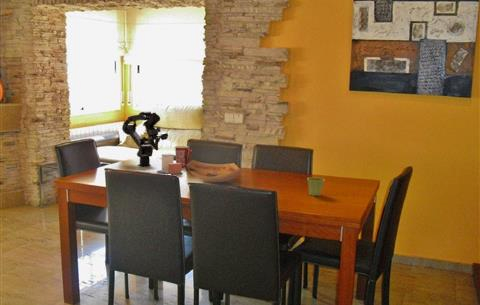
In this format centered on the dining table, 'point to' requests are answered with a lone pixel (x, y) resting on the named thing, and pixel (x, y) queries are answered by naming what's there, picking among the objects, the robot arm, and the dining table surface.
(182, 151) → the mug
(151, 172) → the dining table surface
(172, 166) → the housing
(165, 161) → the pale beige block
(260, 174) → the dining table surface
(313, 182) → the plant pot
